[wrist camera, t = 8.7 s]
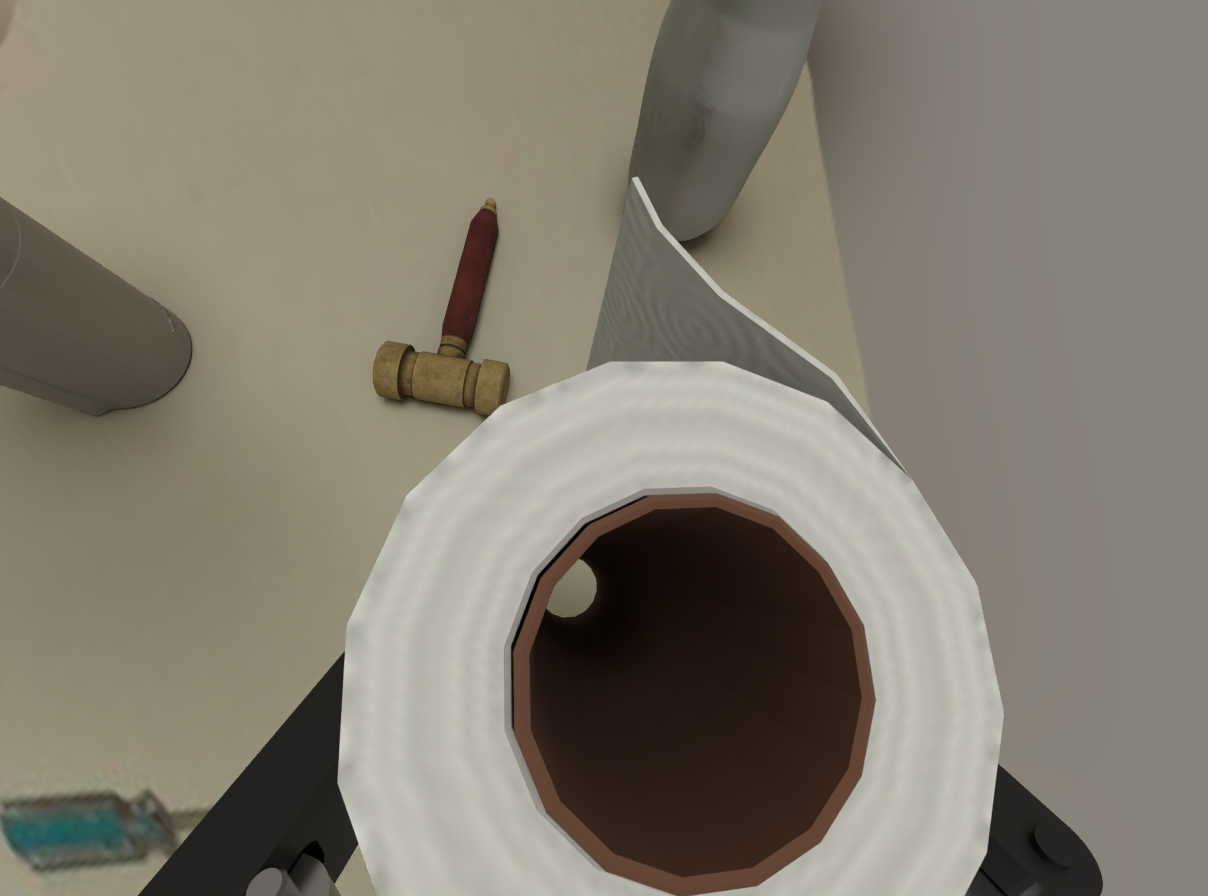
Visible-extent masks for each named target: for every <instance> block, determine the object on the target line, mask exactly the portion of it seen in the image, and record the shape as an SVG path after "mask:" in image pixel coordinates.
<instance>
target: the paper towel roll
mask: <svg viewBox="0 0 1208 896" xmlns="http://www.w3.org/2000/svg"><path fill="white" fill-rule="evenodd" d="M578 559H580V560H583V561H584V562H585V563H586V564H587V565H588V566H589V567H590V568H591V569H592V571H593V573H594V575H595V577H596V583H597V592H596V595H595V598H594V601H593V603H592V604H591V605H590V606H589V608H588V609H587V610H586V611H585V612H583V613H581V614H579V615H577V616H575V617H565V618H562V617H560V616H557V615H554V614H552V613H550V612H549V611H548V610H547V609H546V607H547V604H548V601H549V598H550V596H551V593H552V590H553V587H554V586H555V585H556V583H557V582H558V581H559V580H560V579H561V578H562V577H563V576H564V574H565V573H566V572H567V571H568V570H569V569H570V568H571V567H572V566H573V564H574V563H575V562H576V561H577V560H578ZM537 575H538V576H537ZM536 578H537V579H536ZM535 580H536V581H535ZM531 591H532V594H531ZM530 594H531V597H530V600H529V596H530ZM1003 718H1004V712H1003V707H1002V702H1001V697H1000V693H999V688H998V683H997V678H996V673H995V669H994V664H993V659H992V654H991V650H990V645H989V640H988V635H987V630H986V626H985V621H984V616H983V611H982V607H981V602H980V597H979V592H978V588H977V584H976V583H975V581H974V579H973V578H972V576H971V574H970V573H969V571H968V569H967V568H966V566H965V565H964V563H963V561H962V560H961V558H960V556H959V555H958V554H957V552H956V550H955V548H954V547H953V545H952V543H951V542H950V540H949V539H948V537H947V535H946V534H945V532H944V530H943V529H942V527H941V526H940V524H939V522H938V521H937V519H936V517H935V516H934V514H933V513H932V511H931V509H930V508H929V506H928V505H927V503H926V501H925V500H924V498H923V496H922V495H921V493H920V492H919V490H918V488H917V487H916V485H915V484H914V482H913V480H912V479H911V477H910V476H909V475H908V474H907V472H906V470H905V469H904V468H903V466H902V465H901V463H900V462H899V461H898V459H897V458H896V456H895V455H894V454H893V452H892V451H891V449H890V448H889V447H888V446H887V444H886V442H885V441H884V440H883V438H882V437H881V435H880V434H879V433H878V431H877V430H876V428H875V427H874V426H873V424H872V423H871V421H870V420H869V419H868V417H867V416H866V414H865V413H864V412H863V410H862V409H861V407H860V406H859V405H858V403H857V402H856V400H855V399H854V398H853V396H852V395H851V393H850V392H849V391H848V389H847V388H846V386H845V385H844V384H843V382H842V381H841V379H840V378H839V377H838V375H837V374H836V373H835V372H833V371H832V370H830V369H829V368H828V367H826V366H825V365H824V364H822V363H821V362H819V361H818V360H817V359H815V358H814V357H813V356H811V355H810V354H808V353H807V352H806V351H804V350H803V349H802V348H800V347H799V346H798V345H796V344H795V343H793V342H792V341H791V340H789V339H788V338H787V337H785V336H784V335H782V334H781V333H780V332H778V331H777V330H776V329H774V328H773V327H771V326H770V325H769V324H767V323H766V322H765V321H763V320H762V319H761V318H759V317H758V316H756V315H755V314H754V313H752V312H751V311H750V310H748V309H747V308H745V307H744V306H743V305H741V304H740V303H739V302H737V301H736V300H734V299H733V298H732V297H730V296H729V295H728V294H726V293H725V292H724V291H722V290H721V288H720V287H719V286H718V285H717V284H716V283H715V282H714V281H713V280H712V279H711V278H710V276H709V275H708V274H707V273H706V272H705V271H704V270H703V269H702V268H701V267H700V266H699V264H698V263H697V262H696V261H695V260H694V259H693V258H692V257H691V256H690V255H689V253H688V252H687V251H686V250H685V249H684V248H683V247H682V246H681V245H680V244H679V243H678V241H677V240H676V239H675V238H674V237H673V236H672V235H671V234H670V233H669V232H668V231H667V229H666V228H665V227H664V226H663V225H662V223H661V221H660V219H659V217H658V215H657V213H656V211H655V209H654V207H653V206H652V204H651V202H650V200H649V198H648V196H647V194H646V192H645V190H644V188H643V186H642V184H641V182H640V180H639V178H638V177H634V178H632V179H631V183H630V187H629V192H628V196H627V200H626V204H625V208H624V213H623V217H622V221H621V225H620V230H619V234H618V238H617V242H616V247H615V251H614V255H613V259H612V264H611V268H610V272H609V276H608V281H607V285H606V289H605V293H604V298H603V302H602V306H601V310H600V314H599V319H598V323H597V327H596V331H595V336H594V340H593V344H592V348H591V353H590V357H589V361H588V365H587V370H586V372H583V373H581V374H578V375H576V376H573V377H571V378H568V379H566V380H563V381H561V382H558V383H556V384H553V385H551V386H548V387H546V388H543V389H541V390H538V391H536V392H533V393H531V394H528V395H526V396H523V397H521V398H518V399H516V400H513V401H511V402H508V403H506V404H503V405H501V406H500V407H499V408H498V409H497V410H495V411H494V412H493V413H492V414H491V415H490V416H489V417H488V418H487V419H486V420H485V421H484V422H483V423H482V424H481V425H480V426H479V427H478V428H477V429H476V430H475V431H474V432H472V433H471V434H470V435H469V436H468V437H467V438H466V439H465V440H464V441H463V442H462V443H461V444H460V445H459V446H458V447H457V448H456V449H455V450H454V451H453V452H452V453H451V454H449V455H448V456H447V457H446V458H445V459H444V460H443V461H442V462H441V463H440V464H439V465H438V466H437V467H436V468H435V469H434V470H433V471H432V472H431V473H430V474H429V475H428V476H426V477H425V478H424V479H423V480H422V481H421V482H420V483H419V484H418V485H417V486H416V487H415V488H414V489H413V490H412V491H411V492H410V493H409V494H408V495H407V496H406V498H405V500H404V503H403V505H402V507H401V509H400V511H399V513H398V516H397V518H396V520H395V522H394V524H393V526H392V529H391V531H390V533H389V535H388V537H387V539H386V542H385V544H384V546H383V548H382V550H381V552H380V555H379V557H378V559H377V561H376V563H375V565H374V568H373V570H372V572H371V574H370V576H369V578H368V581H367V583H366V585H365V587H364V589H363V591H362V593H361V596H360V598H359V600H358V602H357V604H356V606H355V609H354V611H353V613H352V615H351V617H350V619H349V622H348V624H347V627H346V645H345V662H344V679H343V696H342V713H341V731H340V748H339V765H338V782H337V783H338V786H339V789H340V791H341V794H342V797H343V800H344V803H345V806H346V809H347V812H348V815H349V817H350V820H351V823H352V826H353V829H354V832H355V835H356V838H357V840H358V843H359V846H360V849H361V852H362V855H363V858H364V861H365V863H366V866H367V869H368V872H369V875H370V878H371V881H372V884H373V886H374V889H375V892H376V895H377V896H964V895H965V894H966V892H967V890H968V888H969V886H970V884H971V882H972V880H973V878H974V876H975V875H976V873H977V871H978V869H979V867H980V865H981V863H982V861H983V859H984V857H985V855H986V854H987V847H988V839H989V831H990V823H991V815H992V807H993V799H994V790H995V782H996V774H997V766H998V758H999V750H1000V742H1001V734H1002V725H1003Z"/></svg>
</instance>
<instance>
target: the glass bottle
mask: <svg viewBox="0 0 1208 896" xmlns="http://www.w3.org/2000/svg"><path fill="white" fill-rule="evenodd" d="M822 2H823V0H671V2H670V4H669V7H668V9H667V11H666V14H665V16H664V19H663V22H662V24H661V27H660V30H659V33H658V36H657V40H656V43H655V47H654V51H653V55H652V58H651V62H650V67H649V71H648V76H647V81H646V85H645V90H644V95H643V101H642V106H641V112H640V117H639V123H638V127H637V132H636V137H635V142H634V146H633V151H632V156H631V161H630V168H629V187H630V183H631V179H632V178H634V177H638V178H639V180H640V182H641V184H642V186H643V188H644V190H645V192H646V194H647V196H648V198H649V200H650V202H651V204H652V206H653V207H654V209H655V211H656V213H657V215H658V217H659V219H660V221H661V223H662V225H663V226H664V227H665V228H666V229H667V231H668V232H669V233H670V234H671V235H672V236H673V237H674V238H675V239H676V240H677V241H686V240H690V239H693V238H696V237H698V236H700V235H702V234H704V233H706V232H707V231H709V230H711V229H712V228H713V227H715V226H716V225H717V224H718V223H719V222H720V221H721V220H722V219H723V218H724V217H725V215H726V214H727V213H728V211H729V210H730V208H731V207H732V205H733V204H734V202H735V200H736V198H737V197H738V195H739V193H740V191H741V189H742V188H743V186H744V184H745V182H746V180H747V178H748V176H749V175H750V173H751V171H752V169H753V167H754V166H755V164H756V162H757V160H758V159H759V157H760V155H761V154H762V152H763V150H764V149H765V147H766V145H767V143H768V142H769V140H770V138H771V136H772V134H773V133H774V131H775V129H776V127H777V125H778V123H779V121H780V120H781V118H782V116H783V114H784V112H785V110H786V108H787V106H788V104H789V101H790V99H791V97H792V95H793V93H794V90H795V88H796V85H797V83H798V80H799V77H800V74H801V72H802V69H803V65H804V62H805V59H806V56H807V53H808V49H809V46H810V43H811V39H812V36H813V33H814V29H815V25H816V22H817V18H818V16H819V12H820V8H821V6H822Z"/></svg>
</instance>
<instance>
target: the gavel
mask: <svg viewBox="0 0 1208 896" xmlns="http://www.w3.org/2000/svg"><path fill="white" fill-rule="evenodd" d="M495 208H496V202H495V200H494V199H492V198H489V199H487V200H486V202H485V205H484V206H482V207H481V208H480V211H479V212H478V213H477V215H476V216H475V217H474V218H473V219H472V221H471V223H470V227H469V231H468V234H467V238H466V242H465V245H464V249H463V253H462V256H461V260H460V264H459V267H458V271H457V274H456V278H455V282H454V285H453V289H452V293H451V296H450V300H449V304H448V307H447V311H446V315H445V318H444V322H443V327H442V339H441V343H440V348H439V349H438V352H437V354H435V353H429V352H424V351H423V352H421V353H419V352H415V349H414V347H413V346H412V345H407V344H402V343H397V342H391V341H386V342H385V343H384V344H383V345H382V346H381V347H380V348H379V350H378V352H377V355H376V357H375V361H374V366H373V384H374V388H375V390H376V393H377V394H378V395H379V396H381V397H386V398H392V399H398V400H405V399H407V397H408V396H413V397H414V398H415V399H419V400H425V401H430V402H436V403H441V404H447V405H453V406H458V407H464V408H465V407H466V406H469V407H475V412H476V413H477V414H482V415H488V416H490V415H491V414H492V413H493V412H494V411H495V410H497V409H498V408H499V407H500V406H501V405H503V404H505V403H506V398H507V393H508V387H509V378H510V368H509V366H508V364H507V363H504V362H499V361H493V360H488V359H485V360H484V361H483V363H482V364H478V363H474V362H473V361H472V360H467V359H464V357H465V356H464V354H465V352H466V348H467V345H468V343H469V340H470V338H471V336H472V334H473V330H474V326H475V322H476V318H477V314H478V310H479V306H480V302H481V298H482V294H483V290H484V287H485V283H486V279H487V275H488V271H489V267H490V263H491V259H492V255H493V251H494V247H495V243H496V239H497V235H498V225H497V218H496V217H497V212H496V210H495Z"/></svg>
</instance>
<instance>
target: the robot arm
mask: <svg viewBox="0 0 1208 896" xmlns="http://www.w3.org/2000/svg"><path fill="white" fill-rule="evenodd" d="M190 355H191V341H190V337H189V334H188V331H187V329H186V328H185V326H184V325H183V323H182V321H181V320H180V319H178V318H177V317H176V316H175V315H174V314H173V313H172V312H170V311H169V310H167V309H166V308H164V307H163V306H161V304H159V303H158V302H156V301H155V300H154V299H152V298H150V297H149V296H147V295H145V294H144V293H142V292H141V291H139V290H138V289H136V288H135V287H133V286H132V285H130V284H129V283H127V282H126V281H124V280H123V279H121V278H120V277H118V276H117V275H116V274H114V273H113V272H111V271H110V270H108V269H107V268H105V267H104V266H102V265H101V264H99V263H98V262H96V261H95V260H93V259H92V258H90V257H89V256H87V255H86V254H84V253H83V252H81V251H80V250H78V249H77V248H75V247H74V246H73V245H71V244H70V243H68V242H67V241H65V240H64V239H62V238H61V237H59V236H58V235H56V234H55V233H53V232H52V231H50V230H49V229H47V228H46V227H44V226H43V225H41V224H40V223H38V222H37V221H35V220H34V219H32V218H31V217H29V216H28V215H27V214H25V213H24V212H22V211H21V210H19V209H18V208H16V207H15V206H13V205H12V204H10V203H9V202H7V201H6V200H4V199H3V198H1V197H0V385H2V386H5V387H8V388H11V389H14V390H17V391H20V392H23V393H26V394H29V395H33V396H36V397H39V398H42V399H45V400H48V401H51V402H54V403H57V404H60V405H63V406H66V407H69V408H72V409H75V410H78V411H81V412H84V413H88V414H91V415H94V416H100V415H101V414H103V413H104V412H106V411H108V410H110V409H119V408H132V407H136V406H140V405H144V404H146V403H149V402H151V401H154V400H156V399H158V398H159V397H161V396H162V395H164V394H165V393H167V392H168V391H169V390H170V389H171V388H172V387H173V386H174V385H176V384H177V382H178V381H179V380H180V378H181V377H182V376H183V374H184V373H185V370H186V368H187V366H188V363H189V360H190ZM531 594H532V591H531ZM531 594H530V596H529V600H530V597H531ZM344 662H345V652H344V653H343V654H342V655H341V656H340V657H339V659H338V660H337V661H336V662H335V663H334V665H333V666H332V667H331V668H330V669H329V670H328V672H327V673H326V674H325V675H324V676H323V678H322V679H321V680H320V681H319V682H318V683H317V685H316V686H315V687H314V688H313V689H312V691H311V692H310V693H309V694H308V695H307V696H306V698H305V699H304V700H303V701H302V702H301V704H300V705H299V706H298V707H297V708H296V709H295V711H294V712H293V713H292V714H291V715H290V717H289V718H288V719H287V720H286V721H285V722H284V724H283V725H282V726H281V727H280V728H279V730H278V731H277V732H276V733H275V734H274V735H273V737H272V738H271V739H270V740H269V741H268V743H267V744H266V745H265V746H264V747H263V748H262V750H261V751H260V752H259V753H258V754H257V756H256V757H255V758H254V759H253V760H252V761H251V763H250V764H249V765H248V766H247V767H246V769H245V770H244V771H243V772H242V773H241V774H240V776H239V777H238V778H237V779H236V780H235V782H234V783H233V784H232V785H231V786H230V787H229V789H228V790H227V791H226V792H225V793H224V795H223V796H222V797H221V798H220V799H219V800H218V802H217V803H216V804H215V805H214V806H213V808H212V809H211V810H210V811H209V812H208V813H207V815H206V816H205V817H204V818H203V819H202V821H201V822H200V823H199V824H198V825H197V826H196V828H195V829H194V830H193V831H192V832H191V834H190V835H189V836H188V837H187V838H186V839H185V841H184V842H183V843H182V844H181V845H180V847H179V848H178V849H177V850H176V851H175V852H174V854H173V855H172V856H171V857H170V858H169V860H168V861H167V862H166V863H165V864H164V865H163V867H162V868H161V869H160V870H159V871H158V873H157V874H156V875H155V876H154V877H153V878H152V880H151V881H150V882H149V883H148V884H147V886H146V887H145V888H144V889H143V890H142V891H141V893H140V894H139V895H138V896H341V895H340V893H339V891H338V890H337V888H336V886H335V882H336V881H337V879H338V877H339V876H340V874H341V872H342V870H343V869H344V867H345V865H346V864H347V862H348V860H349V859H350V857H351V855H352V854H353V852H354V850H355V849H356V847H357V845H358V844H359V843H358V840H357V838H356V835H355V832H354V829H353V826H352V823H351V820H350V817H349V815H348V812H347V809H346V806H345V803H344V800H343V797H342V794H341V791H340V789H339V786H338V783H337V782H338V765H339V748H340V731H341V713H342V696H343V679H344ZM1102 888H1103V881H1102V875H1101V872H1100V869H1099V866H1098V864H1097V862H1096V860H1095V858H1094V857H1093V855H1092V853H1091V852H1090V850H1089V849H1088V848H1087V846H1086V845H1085V843H1084V842H1083V841H1082V840H1081V839H1080V838H1079V837H1078V835H1077V834H1076V833H1075V832H1074V831H1073V830H1071V829H1070V828H1069V827H1068V826H1067V825H1066V824H1065V823H1064V822H1063V821H1061V820H1060V819H1059V818H1058V817H1057V816H1056V815H1055V814H1054V813H1053V812H1052V811H1050V810H1049V809H1048V808H1047V807H1046V806H1045V805H1044V804H1042V803H1041V802H1040V801H1039V800H1038V799H1037V798H1036V797H1035V796H1033V794H1031V793H1030V792H1029V791H1028V790H1027V789H1026V788H1025V787H1024V786H1022V785H1021V784H1020V783H1019V782H1018V781H1017V780H1016V779H1015V778H1013V777H1012V776H1011V775H1010V774H1009V773H1008V772H1007V771H1006V770H1005V769H1003V768H1002V767H1001V766H1000V765H999V764H998V766H997V774H996V782H995V790H994V799H993V807H992V815H991V823H990V831H989V839H988V847H987V854H986V855H985V857H984V859H983V861H982V863H981V865H980V867H979V869H978V871H977V873H976V875H975V876H974V878H973V880H972V882H971V884H970V886H969V888H968V890H967V892H966V894H965V895H964V896H1100V895H1101V892H1102Z"/></svg>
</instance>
